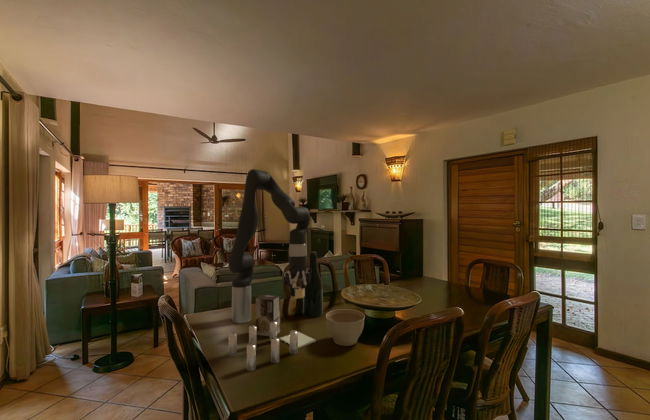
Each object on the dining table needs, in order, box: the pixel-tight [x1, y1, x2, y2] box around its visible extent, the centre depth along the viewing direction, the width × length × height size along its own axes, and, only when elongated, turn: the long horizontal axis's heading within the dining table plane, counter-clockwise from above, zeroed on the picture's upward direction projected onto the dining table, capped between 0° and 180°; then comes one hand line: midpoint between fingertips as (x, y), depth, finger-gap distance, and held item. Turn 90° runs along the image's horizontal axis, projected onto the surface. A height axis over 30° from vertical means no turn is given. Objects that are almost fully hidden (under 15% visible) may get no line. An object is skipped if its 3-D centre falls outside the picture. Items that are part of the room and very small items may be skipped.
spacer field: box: [228, 321, 299, 372], centre depth 116 cm, size 19×21×8 cm
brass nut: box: [290, 286, 305, 299], centre depth 128 cm, size 6×5×4 cm
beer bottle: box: [302, 251, 324, 318], centre depth 161 cm, size 10×10×33 cm
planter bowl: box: [325, 308, 366, 347], centre depth 127 cm, size 16×16×11 cm
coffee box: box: [255, 294, 281, 337], centre depth 136 cm, size 9×6×16 cm
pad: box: [279, 331, 317, 349], centre depth 128 cm, size 12×10×1 cm
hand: (297, 294), depth 128 cm, fingers closed on brass nut, 5 cm apart
